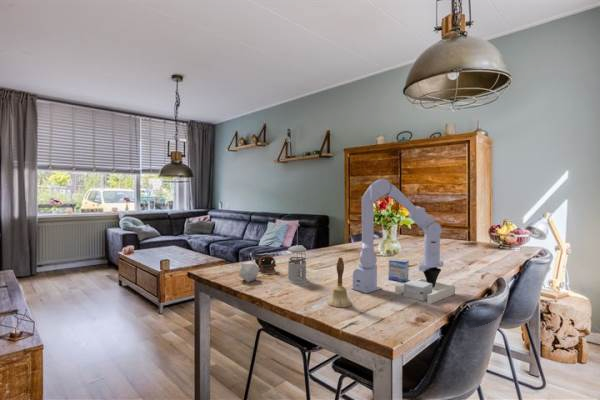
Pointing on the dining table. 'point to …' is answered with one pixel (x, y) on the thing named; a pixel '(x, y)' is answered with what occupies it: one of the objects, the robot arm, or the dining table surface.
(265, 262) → the pottery mug
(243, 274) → the die
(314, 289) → the dining table surface
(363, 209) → the robot arm
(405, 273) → the medicine box
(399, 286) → the u-shaped frame
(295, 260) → the french press
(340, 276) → the hand bell
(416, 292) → the small box
